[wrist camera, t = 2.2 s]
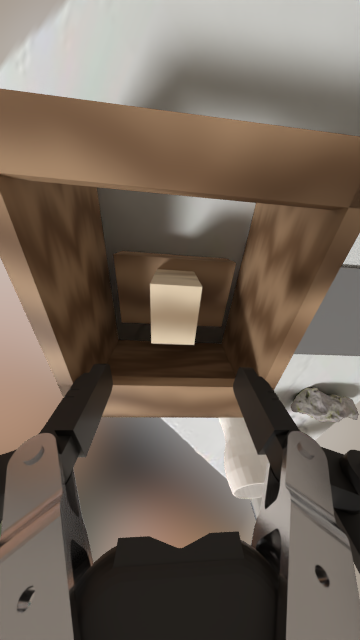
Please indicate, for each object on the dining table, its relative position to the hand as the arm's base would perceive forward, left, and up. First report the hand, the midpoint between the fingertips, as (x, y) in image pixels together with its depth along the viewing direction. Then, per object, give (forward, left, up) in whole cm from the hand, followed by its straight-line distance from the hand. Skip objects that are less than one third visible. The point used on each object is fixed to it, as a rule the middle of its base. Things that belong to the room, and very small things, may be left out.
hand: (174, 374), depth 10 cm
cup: (+38, +19, -19) cm, 46 cm away
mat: (+4, +33, -19) cm, 38 cm away
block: (0, 0, -15) cm, 15 cm away
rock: (+28, +40, -19) cm, 52 cm away
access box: (0, 0, -19) cm, 19 cm away
